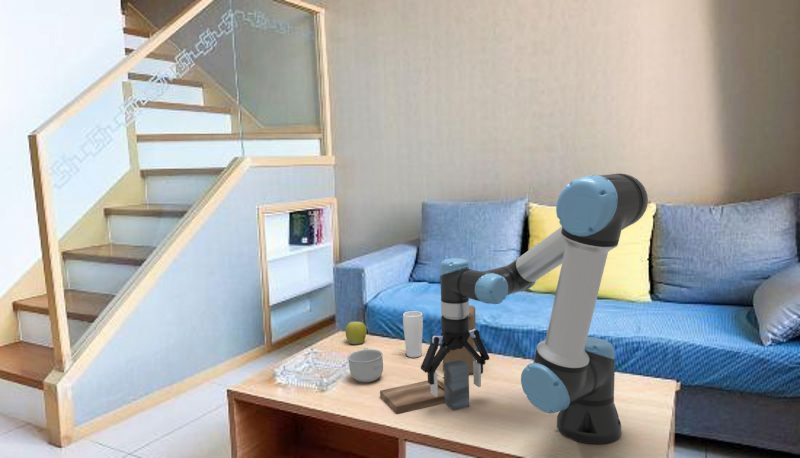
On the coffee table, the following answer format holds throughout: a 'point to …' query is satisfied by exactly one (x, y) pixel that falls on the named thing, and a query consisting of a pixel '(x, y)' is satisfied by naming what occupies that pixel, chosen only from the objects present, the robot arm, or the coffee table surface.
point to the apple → (356, 332)
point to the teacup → (366, 365)
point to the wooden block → (463, 353)
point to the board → (412, 397)
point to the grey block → (455, 384)
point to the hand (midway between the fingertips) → (456, 390)
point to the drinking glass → (413, 333)
